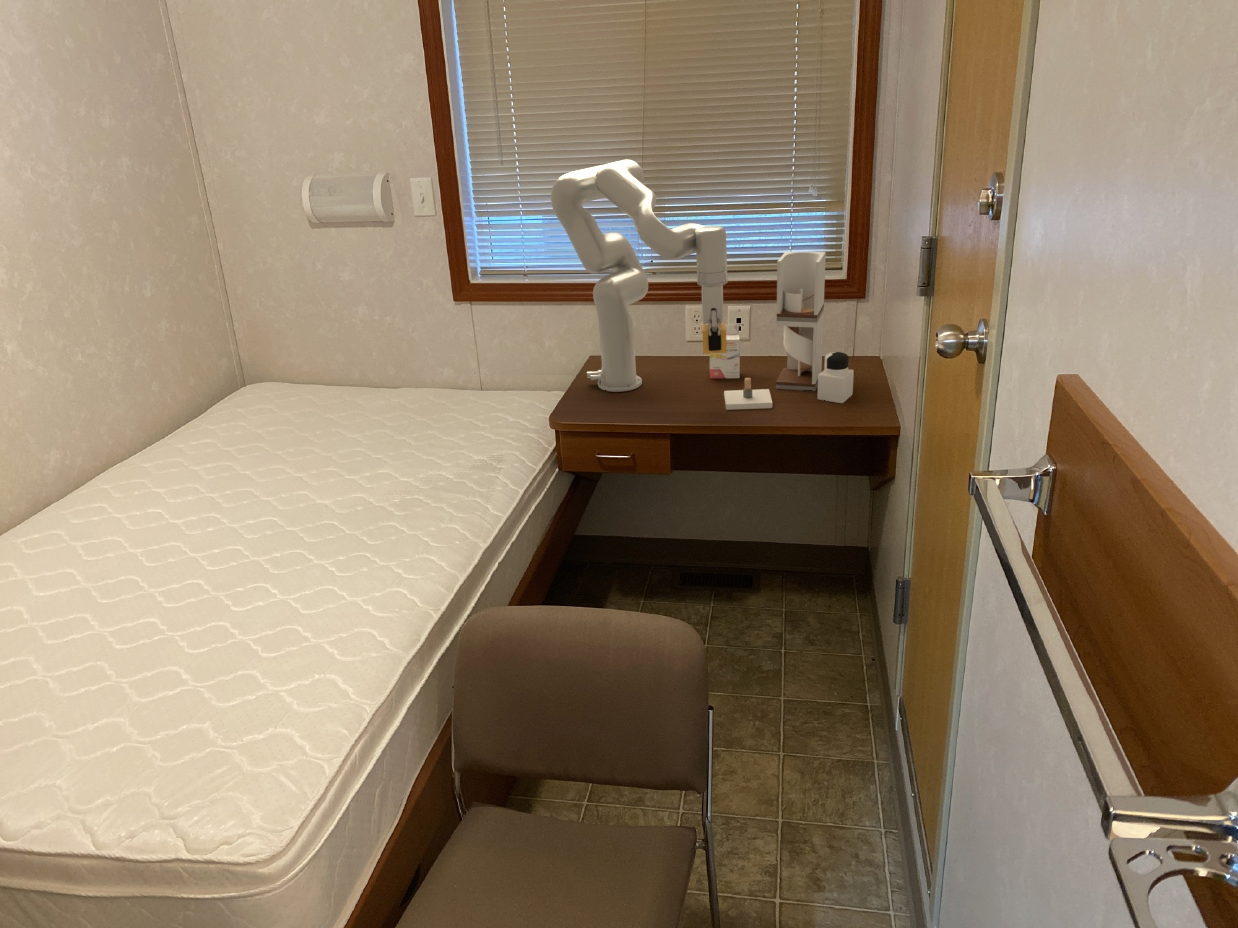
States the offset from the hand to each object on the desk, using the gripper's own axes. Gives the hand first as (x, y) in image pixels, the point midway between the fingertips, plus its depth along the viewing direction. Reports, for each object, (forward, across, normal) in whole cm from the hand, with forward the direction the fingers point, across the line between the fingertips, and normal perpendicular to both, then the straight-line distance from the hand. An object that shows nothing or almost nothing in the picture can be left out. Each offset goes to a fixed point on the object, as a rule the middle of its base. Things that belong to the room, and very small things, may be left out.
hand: (714, 345), depth 235 cm
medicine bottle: (+17, -2, +31) cm, 36 cm away
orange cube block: (+1, 0, 0) cm, 1 cm away
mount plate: (+16, -1, +8) cm, 18 cm away
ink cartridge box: (+16, -22, +3) cm, 27 cm away
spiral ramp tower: (+17, -14, +23) cm, 32 cm away
